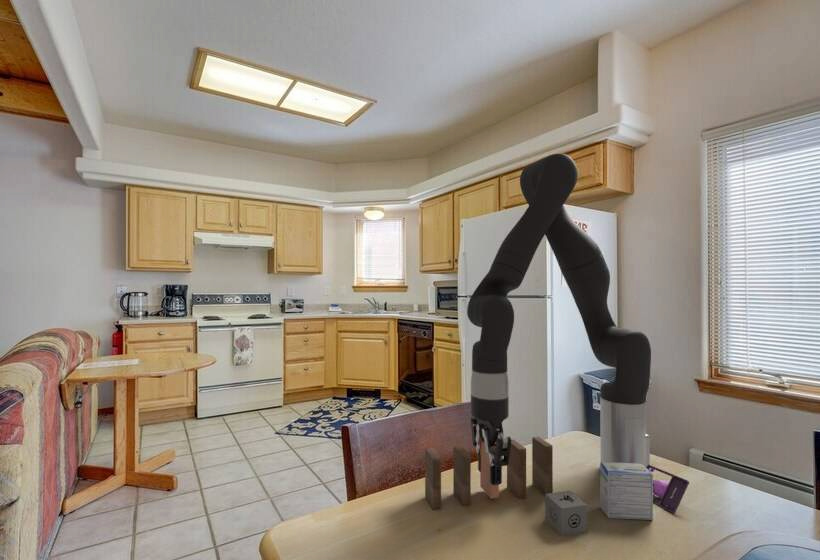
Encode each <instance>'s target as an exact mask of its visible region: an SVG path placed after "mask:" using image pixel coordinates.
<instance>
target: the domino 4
mask: <svg viewBox="0 0 820 560" xmlns="http://www.w3.org/2000/svg"><path fill="white" fill-rule="evenodd" d="M506 488H507V489H508V490H509V492H511V493H512V494H513V495H514V496H515V497H516V498H517V499H518V500H523V499H524V500H525V499H527V447H525V446H523V445H522V444H520V443H519V442H518V441H517V440H515V438H514V439H511V448H510V456H509V463H508V465H507V466H506Z"/></svg>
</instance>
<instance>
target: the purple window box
mask: <svg viewBox="0 0 820 560" xmlns="http://www.w3.org/2000/svg"><path fill="white" fill-rule="evenodd" d="M646 468H647V469H648V470H649V469H650V470H649V471H650V472H651V473H654V471H657V472H660V473H662V474H665V475H667V476H670V477H671V478H670V480H669V482H668V481H665V480H662V479H654V478H653V505H654V504H655V505H656V506H659V507H660V508H662V509H663V510H666V511H668V512H670V513H672V514H674V515H675V514H676V513H677V510H678V508H679V506H680V503H681V502H682V499H683V498H684V495H685V493H686V491H687V489H688V486H689V484H690V481H689V480H687V479H684V478H683V477H680V476H678V475H675V474H673V473H670V472H668V471H666V470H663V469H661V468H658V467H656V466H653V465H651V464H650V465H647V467H646ZM656 496H657V497H659V498H661V499H660V501H659V503H658V502H656V501H655V500H656Z"/></svg>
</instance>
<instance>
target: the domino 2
mask: <svg viewBox="0 0 820 560" xmlns="http://www.w3.org/2000/svg"><path fill="white" fill-rule="evenodd" d="M471 457H472V456H471V454H470V453H469V452H468V450H467V449H466V448H465V447H463V446H462V445H461V444H457V445H453V477H452V478H453V479H452V480H453V495H454V497H455V498H456V499H457V501H458V502H459V503H460V505H461V506H462V507H469V506H471V493H472V492H471V491H472V490H471V488H472V487H471V482H472V481H471V478H472V477H471V476H472V475H471V473H472V472H471V469H472V468H471V467H472V465H471V464H472V463H471V462H472V461H471V460H472V459H471Z"/></svg>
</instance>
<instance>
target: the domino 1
mask: <svg viewBox="0 0 820 560" xmlns="http://www.w3.org/2000/svg"><path fill="white" fill-rule="evenodd" d="M424 449H425V450H424V454H425V456H424V467H425V468H424V481H425V482H424V498H425V499H426V501H427V502H428V505H429V507H430V508H431V509H432V511H438V510H441V509H442V457H441V456H440V455H439V454H438V452H437V451H436V450H435V448H433V447H429V448H424Z"/></svg>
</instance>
